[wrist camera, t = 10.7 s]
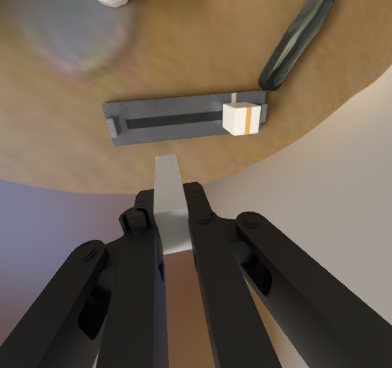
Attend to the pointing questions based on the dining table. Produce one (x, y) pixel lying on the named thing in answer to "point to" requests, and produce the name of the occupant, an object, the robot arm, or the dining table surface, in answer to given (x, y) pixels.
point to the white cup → (113, 2)
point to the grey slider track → (174, 116)
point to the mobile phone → (294, 43)
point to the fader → (241, 118)
